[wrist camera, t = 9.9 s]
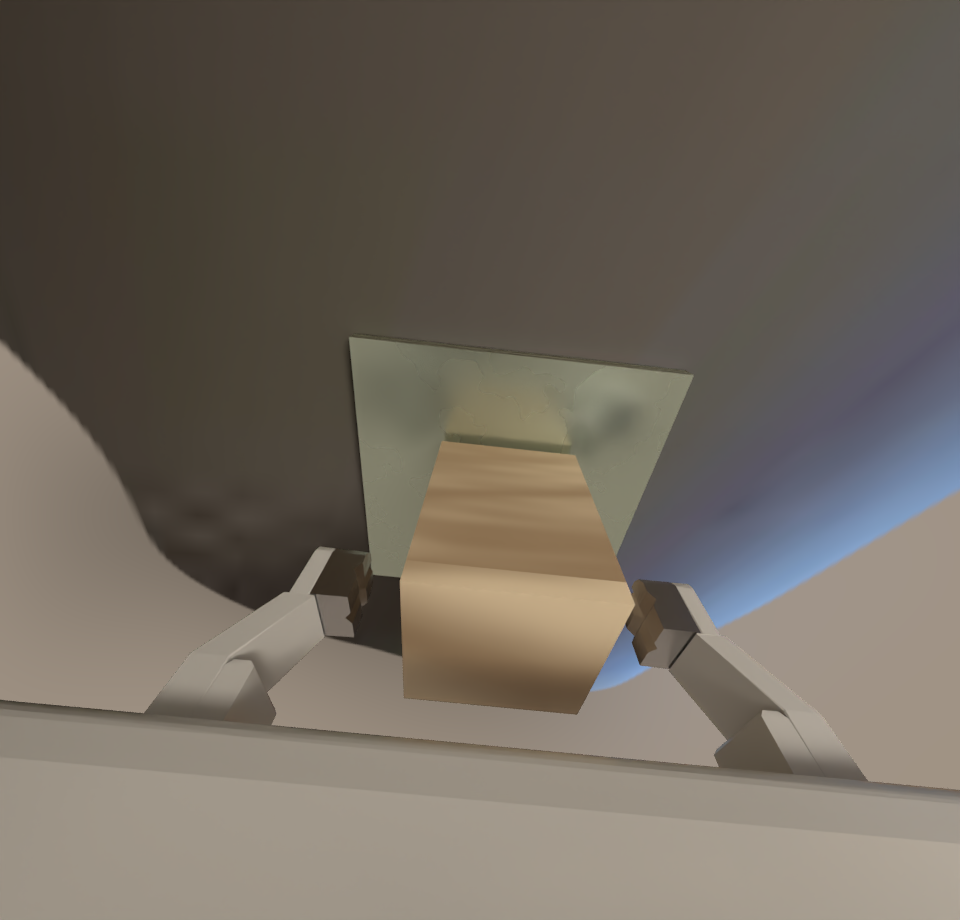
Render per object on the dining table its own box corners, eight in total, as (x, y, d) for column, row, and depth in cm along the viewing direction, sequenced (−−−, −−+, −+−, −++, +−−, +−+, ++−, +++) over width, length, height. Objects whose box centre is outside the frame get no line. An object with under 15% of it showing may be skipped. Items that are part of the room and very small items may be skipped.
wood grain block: (441, 441, 13) (399, 581, 7) (575, 455, 13) (635, 604, 7) (437, 539, 16) (403, 697, 10) (548, 550, 16) (577, 714, 10)
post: (355, 333, 12) (215, 407, 6) (685, 370, 12) (866, 477, 6) (375, 565, 18) (316, 716, 12) (595, 588, 18) (643, 747, 12)
